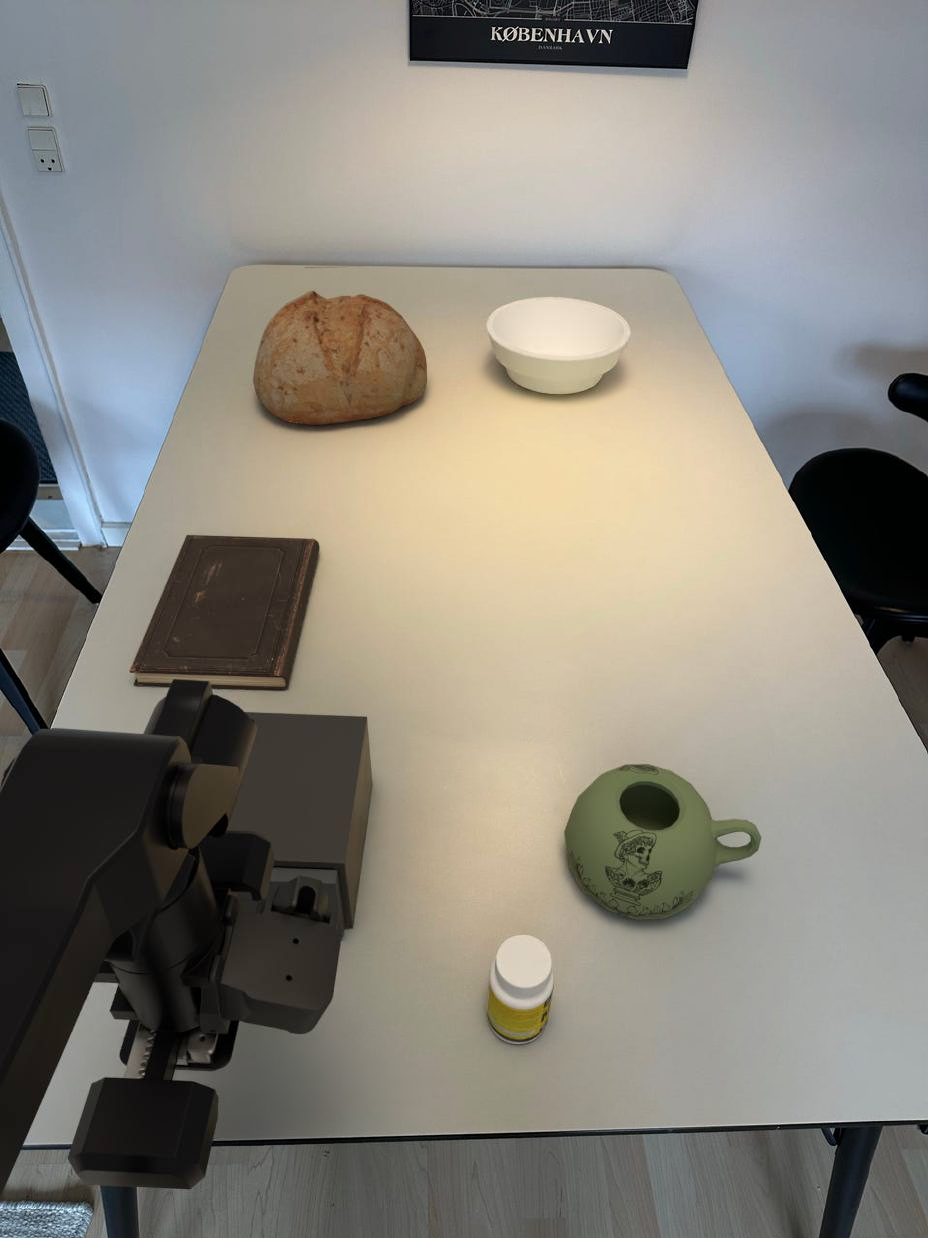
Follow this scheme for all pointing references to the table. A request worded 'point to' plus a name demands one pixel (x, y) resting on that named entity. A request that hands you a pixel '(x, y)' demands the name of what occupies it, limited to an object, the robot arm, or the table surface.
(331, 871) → the drawer
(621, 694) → the table surface
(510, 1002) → the supplement bottle
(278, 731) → the cabinet
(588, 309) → the bowl
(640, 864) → the mug
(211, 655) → the hardcover book
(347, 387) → the bread
